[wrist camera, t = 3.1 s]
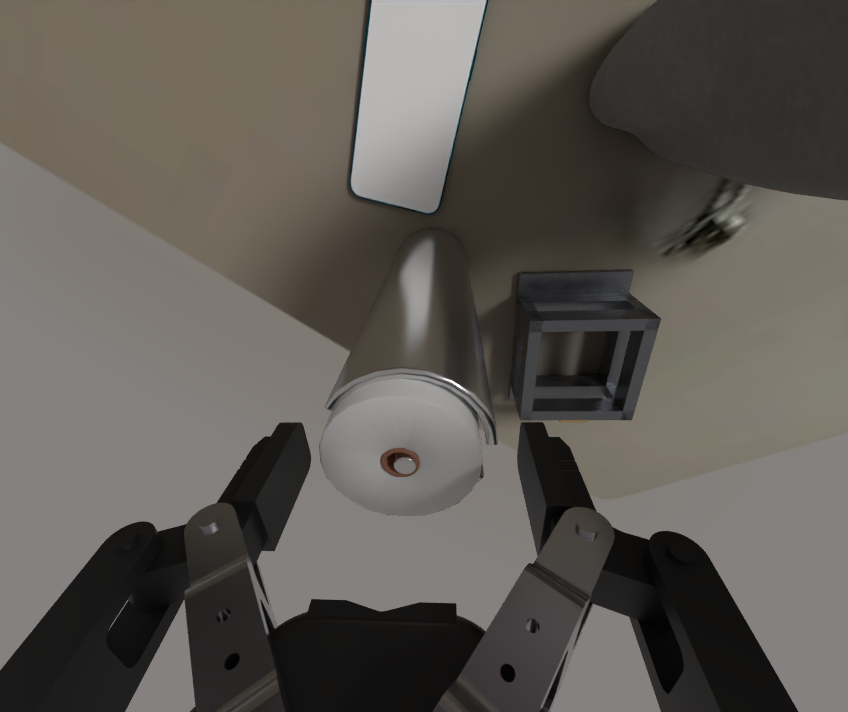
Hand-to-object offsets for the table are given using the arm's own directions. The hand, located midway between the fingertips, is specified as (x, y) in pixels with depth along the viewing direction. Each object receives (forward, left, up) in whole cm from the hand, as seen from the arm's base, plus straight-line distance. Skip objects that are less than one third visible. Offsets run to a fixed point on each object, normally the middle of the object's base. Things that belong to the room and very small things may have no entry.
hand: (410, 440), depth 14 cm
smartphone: (-13, -1, -24) cm, 27 cm away
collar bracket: (+8, +13, -24) cm, 28 cm away
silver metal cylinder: (0, 0, -24) cm, 24 cm away
